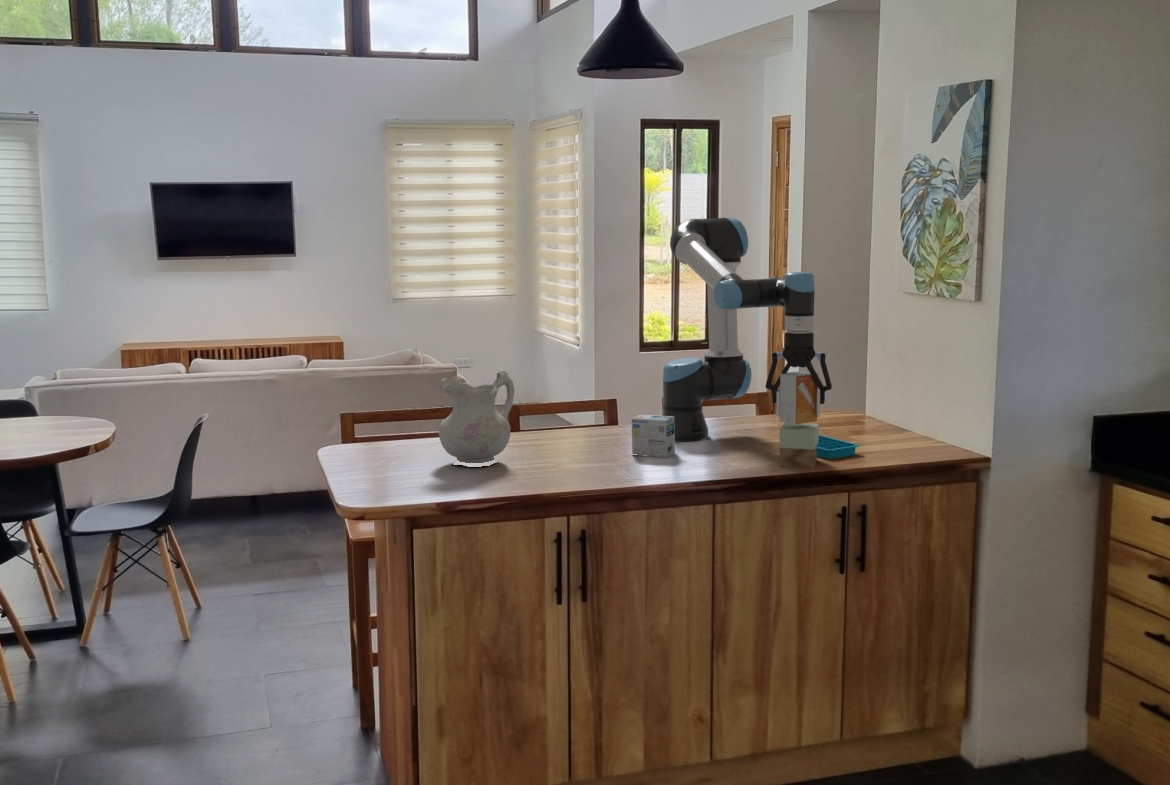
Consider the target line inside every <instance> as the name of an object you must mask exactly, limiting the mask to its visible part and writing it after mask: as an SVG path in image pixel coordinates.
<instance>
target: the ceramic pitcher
mask: <svg viewBox="0 0 1170 785" xmlns="http://www.w3.org/2000/svg"><path fill="white" fill-rule="evenodd" d="M508 374H509V373H507V371H506V370H505V371H498V372H497V373H496V379H495V380H494V382H493V383H492V384H489V383H488V384H481V385H477V386H474V385H471V384H469V383H467V382H464V381H463V382H455V381H454V380H453V379H452V378H451V379H450V378H447V377H444V378H442V379H440V384H439V390H440V392H442V393H445V394H447V395H448V396H449V397H450V398H451V400H452V405H453V407H452V412H450V413H449V415H448V416H447V417H445V418H444V419H443V420H442V421H441V423H440V424H439V427H438V437H439V441H440V444H441V446H442V448H443V449H444V450H445V452H446V453H447V454H449V455H450V456H452V457H454V458H456V459H457V460H458V461H460V462H465V463H484V462H489V461H492V460H494V459H495V457H496V456H498V455H499V454H501V453H502V452H504V450H505V448H506V447H507V445H508V444H509V441H510V438H511V437H510V436H511V425H510V423H509V413H510V411H511V409H512V407H513V401H514V398H515V386H514V382H513V380H512V378H511V377H510V376H509V375H508ZM503 386H505V387H506V399H505V402H504V404H503V405H504V406H503V408H502V409H503V410H502V414H500V413H499V412H498V410H497V409H496V406H495V405H496V404H495V403H496V397H497V394H498V392H499V389H500V388H501V387H503Z"/></svg>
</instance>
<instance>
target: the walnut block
mask: <svg viewBox="0 0 1170 785" xmlns="http://www.w3.org/2000/svg"><path fill="white" fill-rule="evenodd" d="M816 450H817V446H816V447H815V449H794V448H779V455H778V457H779V465H778V466H780V467H798V468H799V467H801V468H815V465H816V462H817V456H816Z"/></svg>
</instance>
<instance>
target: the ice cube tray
mask: <svg viewBox="0 0 1170 785" xmlns="http://www.w3.org/2000/svg"><path fill="white" fill-rule="evenodd" d="M859 447H860V444H857V443H853V442H849V441H845V440H841V439H839V438H838V439H837V438H833V437H831V436H830V437H829V436H825V435H821V434H819V440H818V444H817V450H816V457H820V458H822V459H826V458H827V459H828V460H829V459H830V460H831V459H837V458H838V457H839V458H844V456H845V457H849V456H850V455H851V456H855V455H856V448H859Z"/></svg>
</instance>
